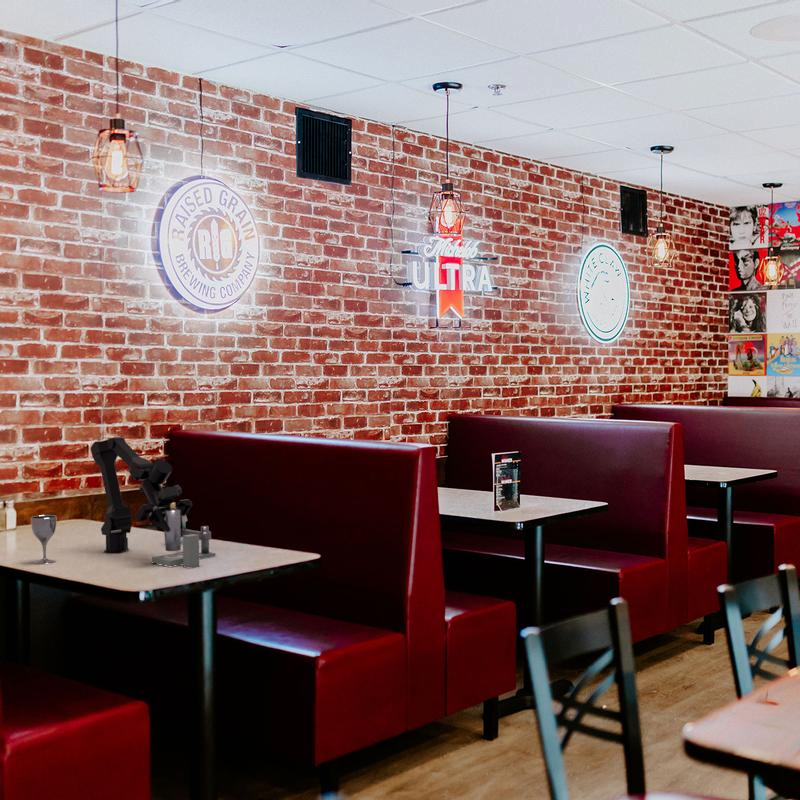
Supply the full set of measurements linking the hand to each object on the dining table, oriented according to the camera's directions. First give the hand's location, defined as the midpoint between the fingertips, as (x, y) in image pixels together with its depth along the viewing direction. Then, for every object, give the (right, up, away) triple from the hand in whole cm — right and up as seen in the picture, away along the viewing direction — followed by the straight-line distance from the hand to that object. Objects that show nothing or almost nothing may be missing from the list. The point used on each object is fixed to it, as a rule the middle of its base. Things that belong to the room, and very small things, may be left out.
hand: (175, 530), depth 323 cm
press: (+5, -11, +3) cm, 12 cm away
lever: (+2, -9, +17) cm, 19 cm away
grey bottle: (-1, -7, +1) cm, 7 cm away
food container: (-8, -10, +41) cm, 43 cm away
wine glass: (-44, -11, +5) cm, 46 cm away
